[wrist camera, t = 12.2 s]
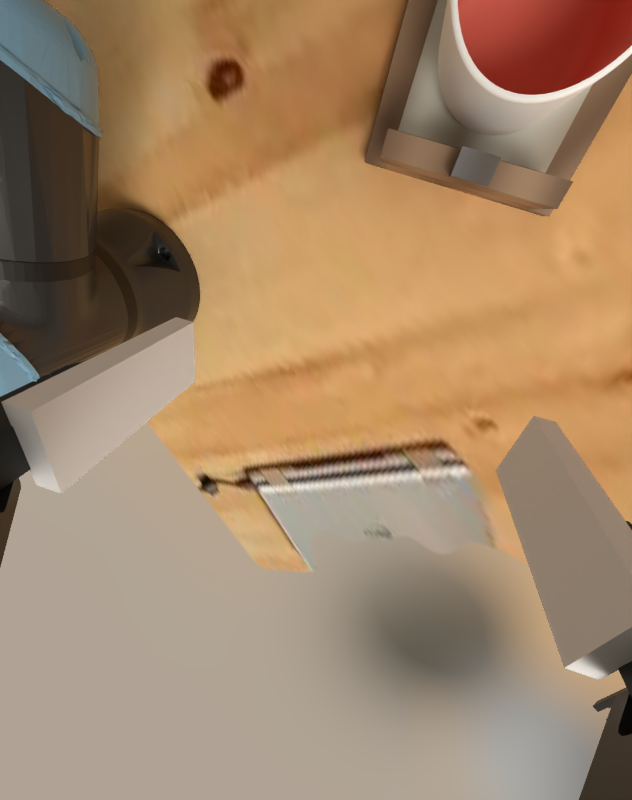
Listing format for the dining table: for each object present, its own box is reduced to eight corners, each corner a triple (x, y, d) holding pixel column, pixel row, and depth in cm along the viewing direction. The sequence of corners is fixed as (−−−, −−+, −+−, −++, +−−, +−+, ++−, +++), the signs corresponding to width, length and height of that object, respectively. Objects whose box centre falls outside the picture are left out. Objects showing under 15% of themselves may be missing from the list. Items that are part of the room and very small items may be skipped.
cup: (408, 91, 25) (407, 30, 16) (514, -111, 19) (594, -358, 11) (512, 167, 25) (562, 145, 17) (643, -8, 20) (812, -165, 12)
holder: (366, 163, 29) (349, 145, 21) (459, -172, 20) (492, -438, 12) (542, 215, 28) (597, 218, 20) (730, -114, 18) (978, -367, 10)
